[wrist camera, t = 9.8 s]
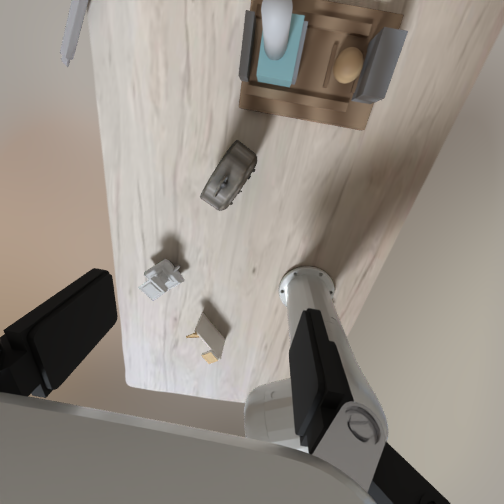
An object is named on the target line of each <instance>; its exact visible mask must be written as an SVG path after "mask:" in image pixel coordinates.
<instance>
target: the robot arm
mask: <svg viewBox="0 0 504 504" xmlns="http://www.w3.org/2000/svg"><path fill="white" fill-rule="evenodd" d="M295 272H296V273H295ZM334 290H335V289H334V284H333V281H332V279H331V277H330V276H329V275H328V274H327V273H326V272H325V271H323V270H321V269H319V268H316V267H310V266H305V267H299V268H296V269H293V270H291V271H290V272H288V273H287V274H286V275H285V276H284V277H283V278H282V280H281V282H280V285H279V296H280V299H281V301H282V303H283V304H284V305H285V306H286V307H287V315H288V326H289V337H290V350H289V363H290V376H291V378H287V379H283V380H279V381H275V382H271V383H268V384H264V385H261V386H258V387H256V388H255V389H253V390H252V391H251V392H250V394H249V395H248V397H247V399H246V403H245V409H244V423H245V434H246V437H241V436H236V435H231V434H225V433H221V432H215V431H210V430H205V429H199V428H194V427H190V426H184V425H179V424H174V423H169V422H163V421H158V420H152V419H148V418H141V417H137V416H132V415H126V414H120V413H116V412H110V411H105V410H100V409H94V408H89V407H83V406H77V405H72V404H66V403H61V402H56V401H50V400H45V399H39V398H33V397H28V396H29V395H30V394H32V395H33V396H38V397H44V398H46V397H47V396H48V395H49V394H50V393H51V392H52V390H55V389H57V388H58V387H59V386H60V385H61V384H62V383H63V382H64V381H65V380H66V379H67V378H68V376H69V375H70V374H71V373H72V372H73V371H74V369H76V367H77V366H78V365H79V364H80V363H81V362H82V360H83V359H84V358H85V357H86V356H87V355H88V354H89V353H90V352H91V350H92V349H93V348H94V347H95V346H96V345H97V344H98V342H99V341H100V340H101V339H102V338H103V337H104V336H105V335H106V333H107V332H108V331H109V330H110V329H111V328H112V327H113V325H114V324H115V323H116V321H117V309H116V301H115V295H114V286H113V279H112V275H110V274H109V272H108V271H106V270H101V269H95V268H94V269H92V270H90V271H89V272H87V273H86V274H84V275H83V276H82V277H80V278H79V279H77V280H76V281H74V282H73V283H71V284H70V285H68V286H67V287H66V288H64V289H63V290H61V291H60V292H58V293H57V294H55V295H54V296H52V297H51V298H50V299H48V300H47V301H45V302H44V303H42V304H41V305H39V306H38V307H36V308H35V309H34V310H32V311H31V312H29V313H28V314H26V315H25V316H23V317H22V318H20V319H19V320H17V321H16V322H15V323H13V324H12V325H10V326H9V327H7V328H6V329H5V330H4V333H5V334H4V335H3V336H2V337H0V504H450V503H449V502H448V500H447V499H446V498H445V497H443V496H442V495H441V494H440V493H439V492H438V491H437V490H436V489H435V488H434V487H433V486H432V485H431V484H430V483H429V482H428V481H427V480H426V479H425V478H424V477H423V476H421V475H420V474H419V473H418V472H417V471H416V470H415V469H414V468H413V467H412V466H411V465H410V464H409V463H408V462H407V461H406V460H405V459H404V458H403V457H402V456H401V455H399V454H398V453H397V452H396V451H395V450H394V449H393V448H392V447H391V446H390V445H389V444H388V443H387V439H388V424H387V420H386V417H385V414H384V411H383V409H382V406H381V404H380V402H379V401H378V398H377V396H376V394H375V393H374V391H373V390H372V388H371V386H370V384H369V383H368V381H367V379H366V377H365V376H364V374H363V372H362V370H361V368H360V366H359V365H358V363H357V361H356V359H355V356H354V354H353V352H352V349H351V347H350V345H349V342H348V340H347V337H346V335H345V332H344V330H343V327H342V325H341V322H340V319H339V317H338V314H337V312H336V309H335V306H334V304H333V301H332V298H333V295H334Z"/></svg>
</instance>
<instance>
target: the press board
mask: <svg viewBox="0 0 504 504" xmlns="http://www.w3.org/2000/svg"><path fill="white" fill-rule="evenodd" d="M262 2H263V0H251V7H250V11H248V10H246V14H245V23H244V32H243V41H242V50H241V59H240V68H239V77H240V79H241V81H242V84H241V93H240V101H239V108H242V109H247V110H253V111H258V112H264V113H269V114H275V115H280V116H286V117H291V118H296V119H302V120H307V121H313V122H318V123H324V124H329V125H335V126H340V127H346V128H351V129H357V130H365V127H366V124H367V121H368V118H369V115H370V112H371V110H372V107H373V104H374V102H377V101H379V100H381V99H384V98H385V95H386V92H387V89H388V86H389V83H390V81H391V78H392V75H393V72H394V69H395V67H396V64H397V61H398V58H399V55H400V52H401V50H402V47H403V44H404V41H405V38H406V36H407V33H408V31H405V30H399V27H400V24H401V21H402V18H403V15H402V14H396V13H391V12H385V11H380V10H374V9H369V8H363V7H358V6H352V5H347V4H341V3H336V2H330V1H324V0H292V5H293V9H292V13H293V14H298V15H304V16H305V17H304V21H308V25H307V30H306V35H305V40H304V45H303V50H302V55H301V60H300V65H299V70H298V75H297V79H296V82H295V85H294V84H291V86H290V87H285V86H279V85H274V84H268V83H263V82H258V80H257V67H258V60H259V53H260V46H261V39H262V31H263V26H262V14H261V7H262ZM349 47H355V48H358V49H359V50H360V51H361V52H362V54H363V59H364V62H363V68H362V70H361V72H360V74H359V75H358V77H357V78H356V79H355V80H353V81H352V82H350V83H346V84H343V83H340V82H338V81H337V80H336V79H335V77H334V74H333V65H334V62H335V60H336V58H337V56H338V55H339V54H340V53H341V52H342V51H343V50H344V49H346V48H349Z"/></svg>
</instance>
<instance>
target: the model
mask: <svg viewBox="0 0 504 504" xmlns="http://www.w3.org/2000/svg"><path fill="white" fill-rule="evenodd" d="M195 337H200V338H201V339H202V340H203V341H204V343H205V344H206V345H207V346H208V347H209V348H210V349H211V350H210V351H207V352H204V353H202V355H201V356H202V357H203V358H204V359H205V360H206V361H207V362H208V364H211V363H213V362H216V361H218V360H220V359H221V355H222V351H223V347H224V343H225V339H224V337H223V336H222V335H221V334H220V333H219V331H218V330H217V329H216V328H215V327H214V325H213V324H212V323H211V322H210V320H209V319H208V318H207V317H206V316H205V314H204V313H202V314H201V316H200V319H199V321H198V324H197V326H196V328H195V333H193V334H191V335H188V336H186V338H195Z"/></svg>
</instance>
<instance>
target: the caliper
mask: <svg viewBox="0 0 504 504" xmlns="http://www.w3.org/2000/svg"><path fill="white" fill-rule="evenodd" d="M87 4H88V0H72V2H71V6H70V10H69V15H68V19H67V24H66V28H65V32H64V37H63V41H62V46H61V50H60V53H61V54H62V58H61V60H62V62H63V63H64V64H65V65H66V66H67V67H68V66H69V63H70V59H73V58H74V54H75V50H76V46H77V42H78V38H79V34H80V30H81V26H82V23H83V19H84V15H85V11H86V7H87Z"/></svg>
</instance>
